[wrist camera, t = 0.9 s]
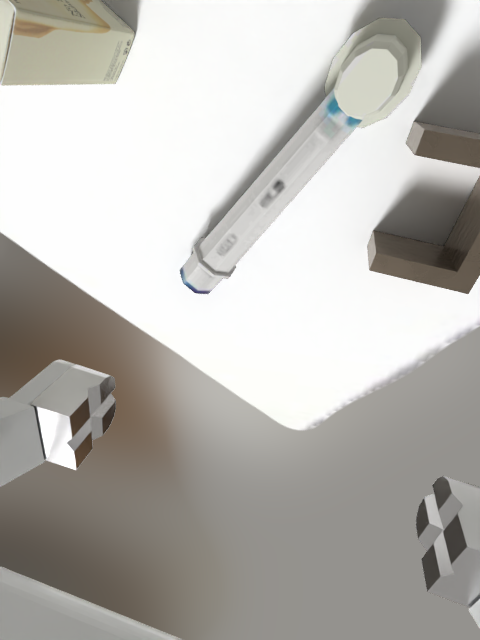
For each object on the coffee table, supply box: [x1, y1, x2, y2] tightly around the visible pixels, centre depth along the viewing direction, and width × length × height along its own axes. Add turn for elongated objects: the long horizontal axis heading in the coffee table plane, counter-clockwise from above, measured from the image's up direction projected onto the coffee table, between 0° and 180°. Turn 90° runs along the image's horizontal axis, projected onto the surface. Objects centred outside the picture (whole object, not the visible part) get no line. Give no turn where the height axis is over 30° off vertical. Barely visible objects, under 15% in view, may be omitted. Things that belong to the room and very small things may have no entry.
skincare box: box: [0, 0, 135, 85], centre depth 24 cm, size 6×4×12 cm
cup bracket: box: [367, 121, 480, 294], centre depth 27 cm, size 10×10×5 cm
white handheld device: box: [180, 18, 422, 294], centre depth 30 cm, size 5×7×25 cm
